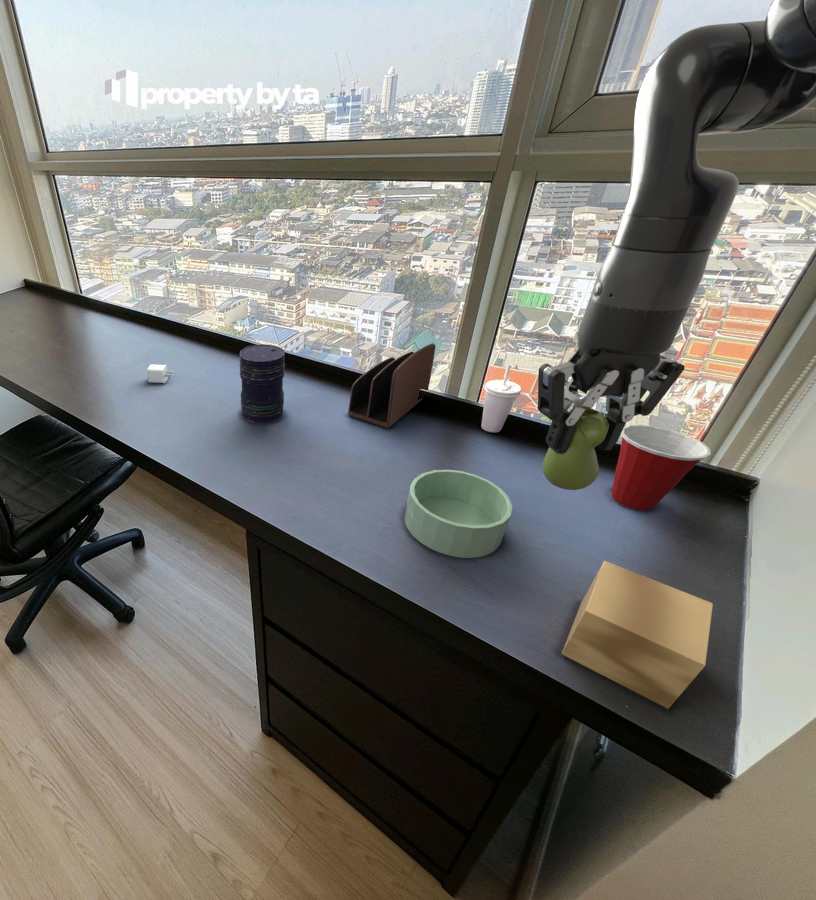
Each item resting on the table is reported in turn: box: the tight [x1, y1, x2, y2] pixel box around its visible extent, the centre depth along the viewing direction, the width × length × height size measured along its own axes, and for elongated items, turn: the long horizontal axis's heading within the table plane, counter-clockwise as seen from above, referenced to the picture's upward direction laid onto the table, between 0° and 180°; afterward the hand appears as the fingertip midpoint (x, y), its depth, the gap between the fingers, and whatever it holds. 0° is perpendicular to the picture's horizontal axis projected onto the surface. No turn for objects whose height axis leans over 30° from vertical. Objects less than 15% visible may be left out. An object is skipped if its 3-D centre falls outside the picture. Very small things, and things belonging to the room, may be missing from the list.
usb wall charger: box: [146, 364, 177, 384], centre depth 129 cm, size 4×7×4 cm, turn 79°
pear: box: [542, 407, 609, 491], centre depth 55 cm, size 6×5×10 cm
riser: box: [561, 560, 714, 710], centre depth 55 cm, size 10×10×8 cm
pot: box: [404, 469, 514, 559], centre depth 75 cm, size 14×14×6 cm
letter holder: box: [347, 343, 436, 429], centre depth 108 cm, size 10×20×14 cm, turn 137°
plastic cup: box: [611, 423, 712, 511], centre depth 77 cm, size 11×11×12 cm
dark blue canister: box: [239, 343, 286, 425], centre depth 108 cm, size 10×10×15 cm
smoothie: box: [480, 363, 522, 433], centre depth 97 cm, size 6×6×14 cm
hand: (578, 447), depth 55 cm, fingers closed on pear, 4 cm apart
